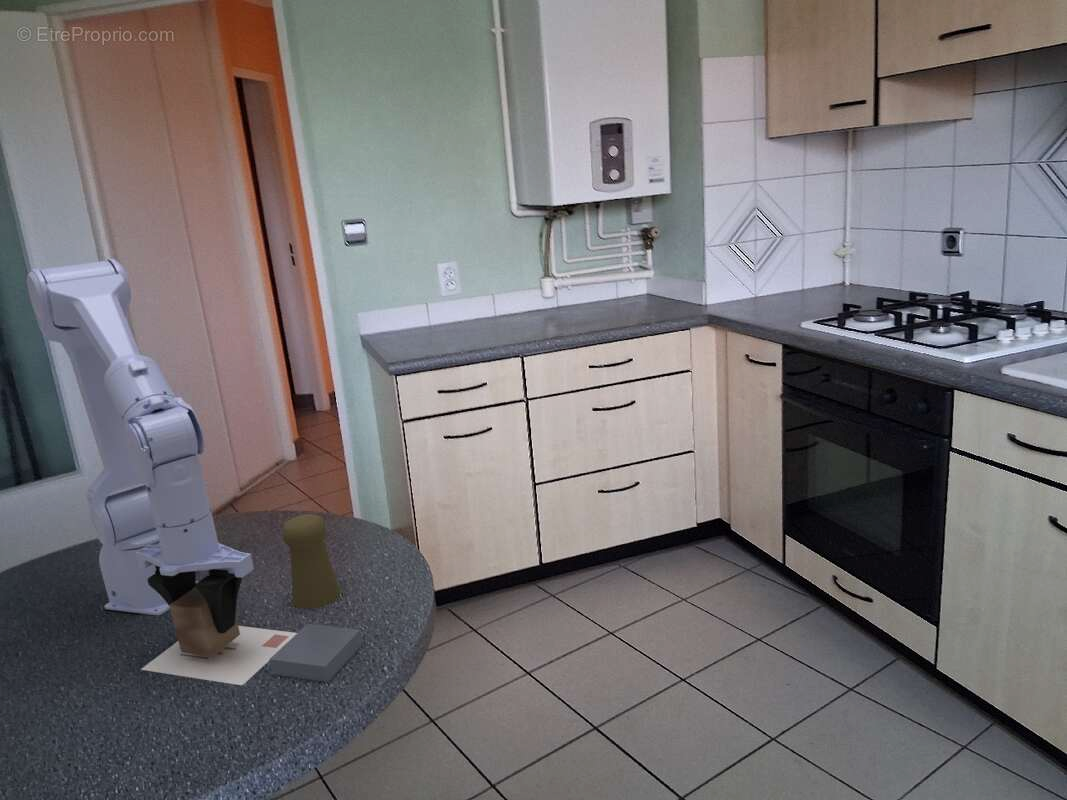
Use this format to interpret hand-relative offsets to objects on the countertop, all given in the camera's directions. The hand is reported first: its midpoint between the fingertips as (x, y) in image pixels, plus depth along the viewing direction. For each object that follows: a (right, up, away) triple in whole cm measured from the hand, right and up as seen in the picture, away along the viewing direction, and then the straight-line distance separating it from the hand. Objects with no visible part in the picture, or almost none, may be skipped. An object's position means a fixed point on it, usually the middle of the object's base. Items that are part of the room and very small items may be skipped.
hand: (209, 626), depth 90 cm
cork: (+9, 0, +11) cm, 14 cm away
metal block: (+13, -3, -3) cm, 14 cm away
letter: (+1, -3, +1) cm, 3 cm away
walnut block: (0, -2, 0) cm, 2 cm away
